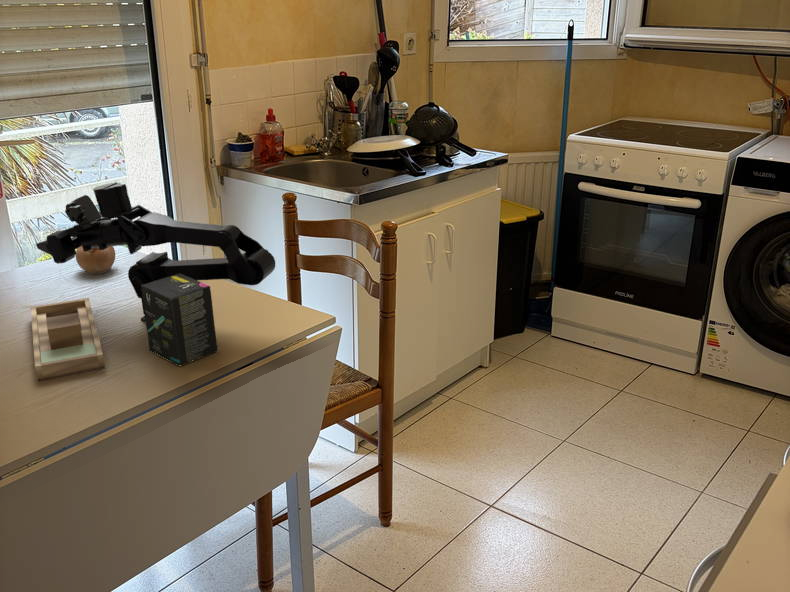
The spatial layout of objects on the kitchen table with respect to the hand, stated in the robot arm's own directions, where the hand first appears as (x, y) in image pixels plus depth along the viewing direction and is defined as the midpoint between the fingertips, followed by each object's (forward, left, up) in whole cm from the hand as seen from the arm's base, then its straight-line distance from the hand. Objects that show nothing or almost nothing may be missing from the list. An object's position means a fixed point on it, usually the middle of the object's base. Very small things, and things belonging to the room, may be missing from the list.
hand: (51, 239), depth 172 cm
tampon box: (-39, +10, -16) cm, 44 cm away
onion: (+7, -20, -16) cm, 27 cm away
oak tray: (-14, +15, -16) cm, 26 cm away
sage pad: (-21, +22, -16) cm, 34 cm away
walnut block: (-16, +17, -14) cm, 28 cm away
